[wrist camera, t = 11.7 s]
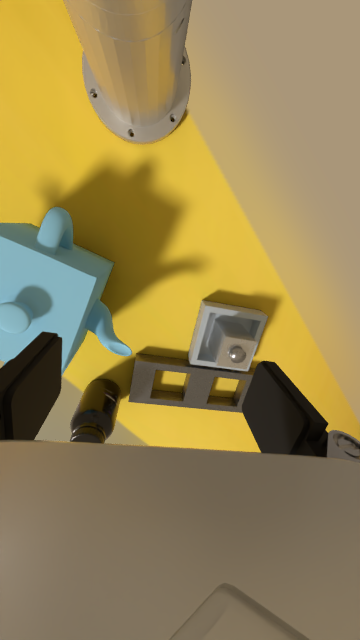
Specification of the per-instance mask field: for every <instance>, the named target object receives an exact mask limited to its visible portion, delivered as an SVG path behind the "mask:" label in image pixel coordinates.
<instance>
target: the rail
mask: <svg viewBox="0 0 360 640" xmlns="http://www.w3.org/2000/svg"><path fill="white" fill-rule="evenodd" d="M156 370H164V371H172V372H180V373H187V375H186V379H185V383H184V386H183V390H182V393H178V392H168V391H159V390H152V386H153V381H154V376H155V371H156ZM255 370H256V369H253V368H249V370H248V371H240V370H233V369H225V368H217V367H209V366H201V365H194V364H190V361H189V360H184V359H177V358H169V357H161V356H154V355H146V354H138V353H136V358H135V364H134V371H133V377H132V383H131V389H130V395H129V402H135V403H146V404H156V405H167V406H177V407H188V408H198V409H209V410H219V411H230V412H240V413H243V412H242V404H243V401H244V398H245V396H246V393H247V391H248V388H249V385H250V383H251V380H252V377H253V375H254V372H255ZM214 377H222V378H230V379H238V380H239V383H238V385H237V388H236V391H235V394H234V396H233V398H225V397H216V396H209V393H210V390H211V387H212V384H213V380H214Z"/></svg>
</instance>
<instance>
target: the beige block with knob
mask: <svg viewBox="0 0 360 640" xmlns="http://www.w3.org/2000/svg"><path fill="white" fill-rule="evenodd" d="M256 343H257V341H256V340H255V339H254V338H253V337H252V336H251V335H250V333H249V332H248V331H247V330H246V329H245V328H244V327H243V325H242V324H239V323H233V322H228V321H222V320H216V319H215V320H214V323H213V326H212V330H211V333H210V337H209V340H208V344H207V345H208V347H209V349H210V351H211V354H212V356H213V358H214V360H215V363H216V365H217V366H224V367H231V368H239V369H246V370H247V367H248V364H249V362H250V359H251V356H252V354H253V351H254V348H255V346H256Z"/></svg>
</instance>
